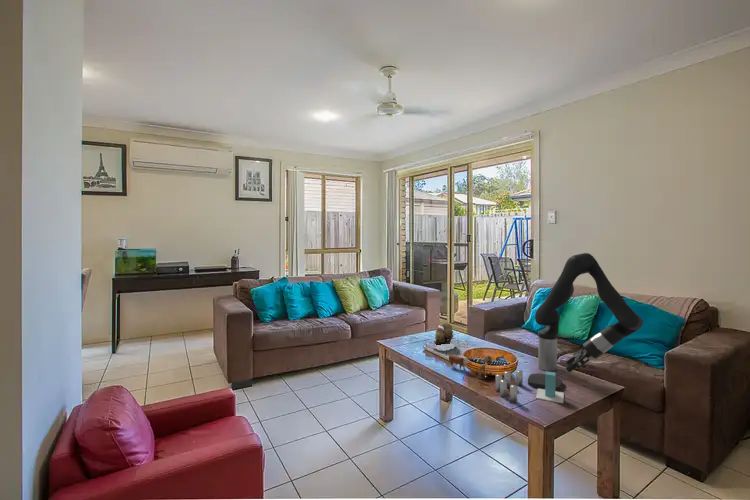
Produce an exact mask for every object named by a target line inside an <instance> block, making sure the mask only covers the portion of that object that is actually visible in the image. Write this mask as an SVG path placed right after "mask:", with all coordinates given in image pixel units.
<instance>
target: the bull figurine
mask: <svg viewBox="0 0 750 500" xmlns="http://www.w3.org/2000/svg"><path fill="white" fill-rule="evenodd" d="M469 359H470V357H466V356H458V355H455V354H452V353H451V354H449V355H448V362H449V366H451V368H452V369H453V368H454V369H455V366H454V365H456V366H457V365H459V369H458V370H459V371H460V370H461V371H462V368H463V370H464V369H466V367H465V366H466V365H467V363H468V364H469V361H468V360H469ZM465 363H466V365H465ZM453 366H454V367H453Z"/></svg>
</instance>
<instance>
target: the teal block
mask: <svg viewBox="0 0 750 500" xmlns="http://www.w3.org/2000/svg"><path fill="white" fill-rule="evenodd" d="M544 374H545V396H548V397H554V398H555V376H556V372H555V371H545V373H544Z"/></svg>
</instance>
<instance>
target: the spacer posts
mask: <svg viewBox="0 0 750 500" xmlns="http://www.w3.org/2000/svg"><path fill="white" fill-rule="evenodd" d="M511 375H512V374H511V371H509V370H504V372H503V374H498V373H497V374H495V391H497V392H499V396H500V397H501V398H507V395H508V391H507V390H508V388H509V402H510V403H511V404H517V403H518V387H522V386H523V385H524V384H523V383H524V382H523V370H521V369H516V371H515V384H511V381H512V380H511Z"/></svg>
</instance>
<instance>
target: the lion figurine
mask: <svg viewBox="0 0 750 500" xmlns="http://www.w3.org/2000/svg"><path fill="white" fill-rule="evenodd" d="M492 359H493V358H492V357H491V356H490V355H487V354H486V355H485V356H484V357H483V358H482V360H483V362H484V361H485V362H484V363H485V364H484V363H481V367H480V366H479V368H480V369H479V368H478V369H479V370H478V373H477V377H478V379H480V380H483V376H482V375H484V377H485V378H486V377H488V376H487V373H485V366H486V365H488V364H490V363H492V364H493V360H492ZM482 369H483V370H482ZM481 370H482V371H481ZM482 372H483V374H482Z"/></svg>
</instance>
